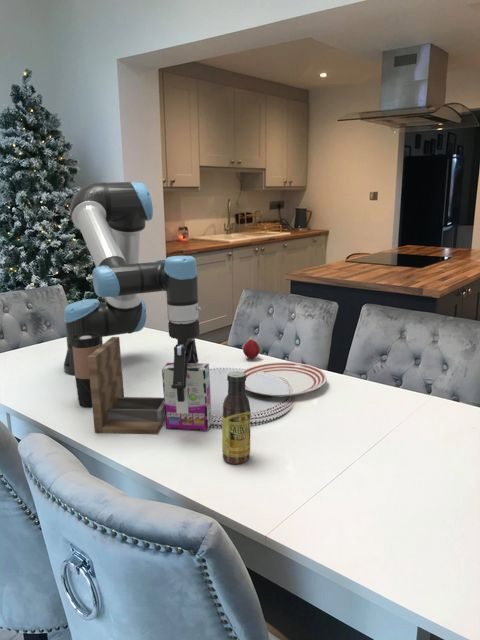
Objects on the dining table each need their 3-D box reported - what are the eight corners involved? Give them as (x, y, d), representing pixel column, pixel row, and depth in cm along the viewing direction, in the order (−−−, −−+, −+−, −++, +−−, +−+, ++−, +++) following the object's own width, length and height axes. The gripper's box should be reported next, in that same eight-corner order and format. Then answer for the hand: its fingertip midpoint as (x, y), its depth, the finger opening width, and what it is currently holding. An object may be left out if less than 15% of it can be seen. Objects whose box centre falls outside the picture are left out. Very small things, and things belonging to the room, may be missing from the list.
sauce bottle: (230, 468, 114) (227, 381, 109) (217, 455, 119) (214, 372, 114) (256, 460, 116) (255, 375, 112) (243, 449, 122) (241, 367, 117)
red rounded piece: (262, 358, 187) (262, 337, 185) (254, 363, 183) (254, 341, 181) (248, 356, 190) (248, 335, 188) (240, 360, 186) (239, 338, 184)
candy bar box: (212, 423, 136) (210, 362, 132) (208, 431, 131) (205, 369, 127) (170, 421, 138) (167, 361, 134) (165, 429, 133) (161, 367, 129)
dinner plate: (282, 411, 143) (282, 400, 142) (218, 386, 163) (218, 375, 162) (345, 386, 160) (345, 375, 159) (280, 365, 180) (280, 356, 179)
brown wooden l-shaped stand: (117, 404, 149) (112, 336, 145) (173, 405, 148) (169, 337, 143) (94, 432, 132) (87, 356, 127) (157, 434, 130) (152, 357, 126)
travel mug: (98, 409, 147) (91, 340, 142) (73, 407, 148) (65, 339, 143) (110, 398, 154) (104, 332, 149) (86, 397, 155) (79, 331, 151)
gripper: (189, 333, 115) (193, 422, 120) (206, 309, 140) (210, 384, 145) (155, 333, 116) (161, 422, 121) (179, 309, 140) (183, 384, 145)
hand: (187, 402), depth 133 cm, fingers open, 13 cm apart
